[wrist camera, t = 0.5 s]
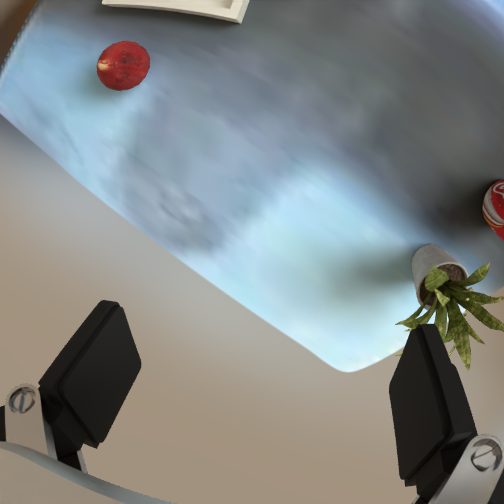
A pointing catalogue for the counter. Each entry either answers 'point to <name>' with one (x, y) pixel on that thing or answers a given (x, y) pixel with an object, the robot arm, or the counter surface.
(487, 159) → the counter surface
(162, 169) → the counter surface
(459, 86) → the counter surface
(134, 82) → the red round fruit
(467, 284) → the house plant
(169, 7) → the tray
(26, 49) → the counter surface
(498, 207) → the soda can
